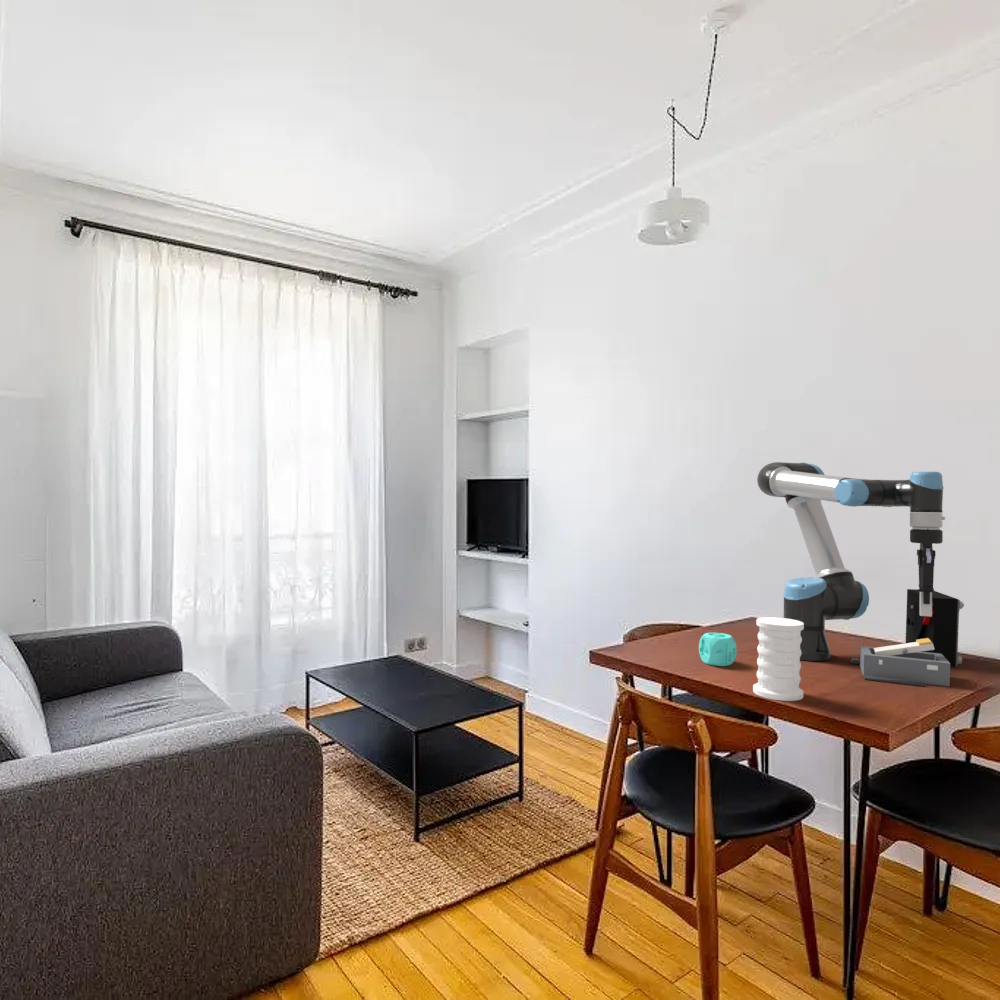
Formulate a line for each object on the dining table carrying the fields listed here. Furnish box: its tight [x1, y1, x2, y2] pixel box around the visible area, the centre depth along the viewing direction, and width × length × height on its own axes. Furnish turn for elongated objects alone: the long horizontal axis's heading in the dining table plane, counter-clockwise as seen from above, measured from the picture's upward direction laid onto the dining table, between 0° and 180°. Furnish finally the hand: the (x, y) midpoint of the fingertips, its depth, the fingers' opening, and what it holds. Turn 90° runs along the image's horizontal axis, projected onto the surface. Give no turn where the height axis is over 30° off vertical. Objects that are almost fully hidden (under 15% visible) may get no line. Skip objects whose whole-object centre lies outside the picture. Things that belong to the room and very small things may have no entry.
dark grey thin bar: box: [863, 676, 926, 687], centre depth 183 cm, size 14×1×1 cm, turn 67°
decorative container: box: [752, 616, 804, 702], centre depth 171 cm, size 12×12×18 cm
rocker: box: [874, 638, 935, 656], centre depth 190 cm, size 14×6×2 cm, turn 67°
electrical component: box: [905, 588, 965, 668], centre depth 209 cm, size 18×10×20 cm, turn 168°
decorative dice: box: [698, 632, 738, 667], centre depth 201 cm, size 8×8×8 cm
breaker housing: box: [859, 645, 951, 687], centre depth 190 cm, size 20×12×6 cm, turn 67°
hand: (925, 615), depth 187 cm, fingers closed
